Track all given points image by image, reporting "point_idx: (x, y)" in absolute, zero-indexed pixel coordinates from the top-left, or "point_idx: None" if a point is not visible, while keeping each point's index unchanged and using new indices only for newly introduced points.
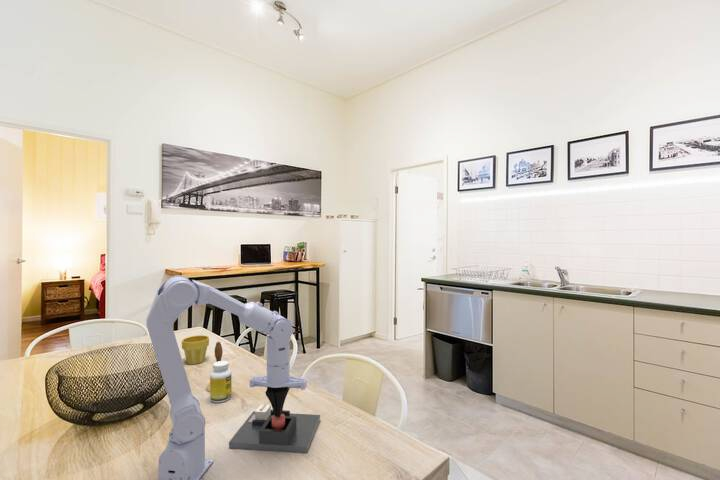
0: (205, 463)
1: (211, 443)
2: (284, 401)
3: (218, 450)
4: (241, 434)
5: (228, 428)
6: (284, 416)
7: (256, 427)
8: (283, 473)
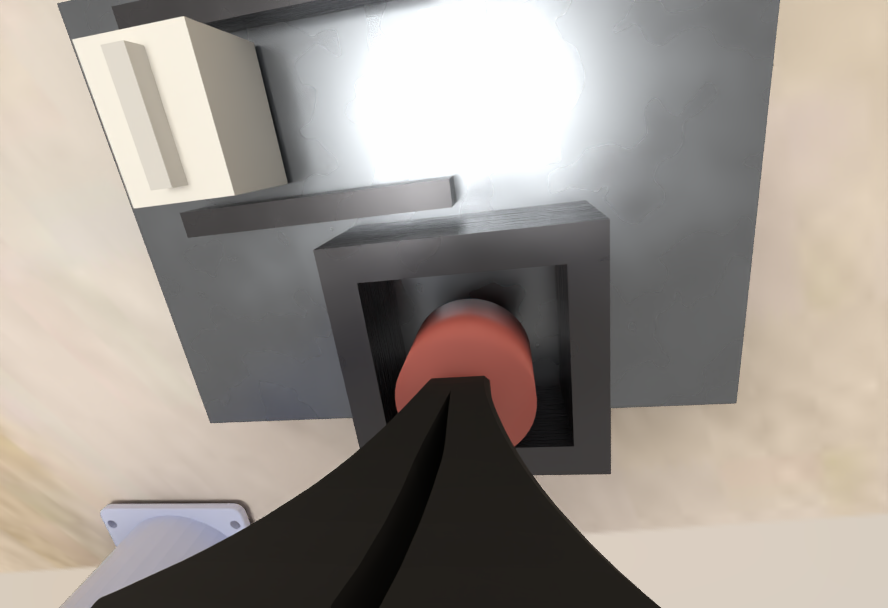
0: (225, 531)
1: (116, 381)
2: (513, 449)
3: (197, 425)
4: (222, 347)
5: (73, 228)
6: (526, 384)
7: (259, 249)
8: (618, 531)
